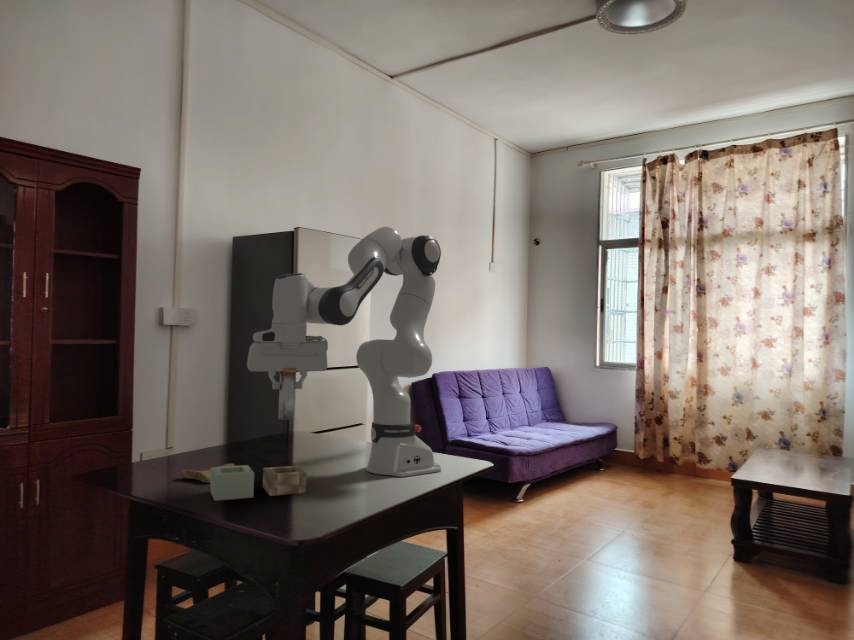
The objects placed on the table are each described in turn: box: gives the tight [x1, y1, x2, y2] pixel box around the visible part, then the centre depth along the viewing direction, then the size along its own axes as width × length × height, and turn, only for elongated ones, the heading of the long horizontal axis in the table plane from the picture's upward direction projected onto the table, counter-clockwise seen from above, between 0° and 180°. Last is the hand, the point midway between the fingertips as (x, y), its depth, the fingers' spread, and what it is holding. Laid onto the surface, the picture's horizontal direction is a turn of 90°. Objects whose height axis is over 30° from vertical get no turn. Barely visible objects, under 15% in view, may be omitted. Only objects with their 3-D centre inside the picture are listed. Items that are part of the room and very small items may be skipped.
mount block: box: [262, 465, 307, 497], centre depth 157 cm, size 9×9×5 cm
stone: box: [178, 463, 236, 484], centre depth 168 cm, size 11×16×3 cm
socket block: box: [209, 464, 255, 502], centre depth 152 cm, size 9×9×6 cm
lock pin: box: [277, 369, 299, 421], centre depth 158 cm, size 5×5×13 cm
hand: (287, 388), depth 158 cm, fingers closed on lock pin, 4 cm apart
